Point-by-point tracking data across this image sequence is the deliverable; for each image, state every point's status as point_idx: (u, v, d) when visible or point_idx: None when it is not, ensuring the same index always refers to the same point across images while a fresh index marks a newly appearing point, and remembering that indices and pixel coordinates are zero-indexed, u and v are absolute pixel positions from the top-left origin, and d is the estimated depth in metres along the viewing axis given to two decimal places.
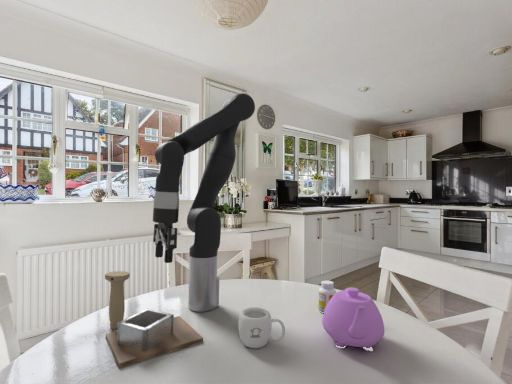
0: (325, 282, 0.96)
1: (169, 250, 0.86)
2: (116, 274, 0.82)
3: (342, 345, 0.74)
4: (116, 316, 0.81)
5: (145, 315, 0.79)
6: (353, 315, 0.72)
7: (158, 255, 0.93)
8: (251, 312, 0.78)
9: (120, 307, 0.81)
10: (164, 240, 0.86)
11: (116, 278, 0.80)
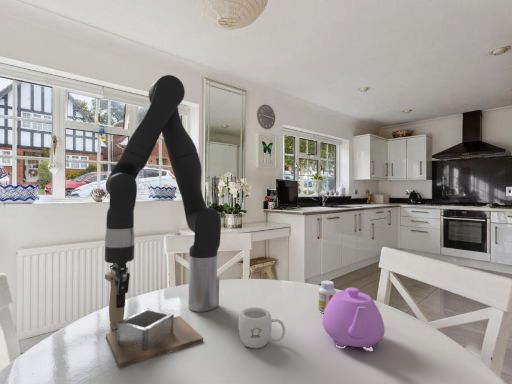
0: (325, 282, 0.96)
1: (120, 295, 0.80)
2: None
3: (342, 345, 0.74)
4: (116, 315, 0.81)
5: (145, 315, 0.79)
6: (353, 315, 0.72)
7: None
8: (251, 312, 0.78)
9: None
10: (115, 284, 0.80)
11: (116, 278, 0.80)
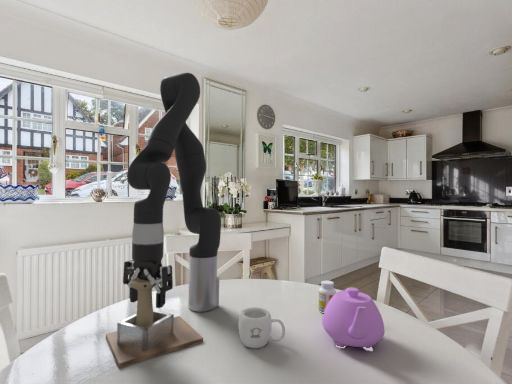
0: (325, 282, 0.96)
1: (163, 292, 0.72)
2: (145, 280, 0.74)
3: (342, 345, 0.74)
4: None
5: None
6: (353, 315, 0.72)
7: (134, 299, 0.76)
8: (251, 312, 0.78)
9: (152, 315, 0.74)
10: (155, 282, 0.72)
11: (150, 284, 0.72)
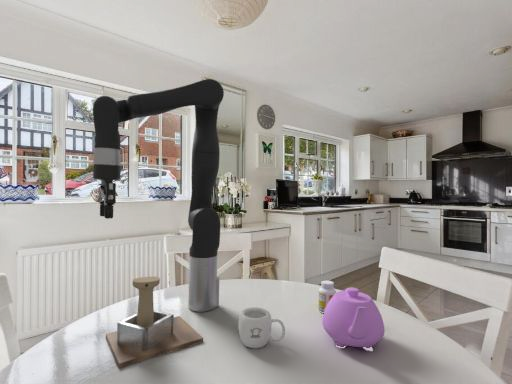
0: (325, 282, 0.96)
1: (108, 205, 0.85)
2: (147, 280, 0.74)
3: (342, 345, 0.74)
4: None
5: None
6: (353, 315, 0.72)
7: (103, 214, 0.93)
8: (251, 312, 0.78)
9: (152, 315, 0.74)
10: (103, 196, 0.86)
11: (152, 283, 0.73)
